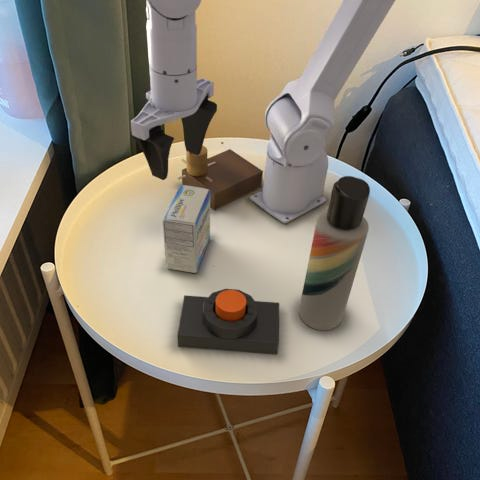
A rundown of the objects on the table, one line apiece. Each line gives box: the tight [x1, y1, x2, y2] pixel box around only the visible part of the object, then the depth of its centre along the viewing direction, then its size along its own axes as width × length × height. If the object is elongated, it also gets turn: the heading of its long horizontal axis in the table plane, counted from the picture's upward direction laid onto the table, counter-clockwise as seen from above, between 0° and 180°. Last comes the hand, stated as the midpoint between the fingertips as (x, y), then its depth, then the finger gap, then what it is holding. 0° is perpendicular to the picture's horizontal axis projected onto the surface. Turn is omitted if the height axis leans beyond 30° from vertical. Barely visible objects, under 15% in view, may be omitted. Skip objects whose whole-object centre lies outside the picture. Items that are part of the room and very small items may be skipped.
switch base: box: [176, 288, 280, 355], centre depth 67 cm, size 12×7×4 cm, turn 87°
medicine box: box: [162, 184, 211, 274], centre depth 74 cm, size 8×4×9 cm, turn 168°
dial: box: [185, 145, 208, 176], centre depth 84 cm, size 3×3×4 cm
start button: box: [215, 290, 246, 322], centre depth 65 cm, size 4×4×2 cm
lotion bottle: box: [298, 175, 371, 331], centre depth 63 cm, size 6×6×20 cm
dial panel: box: [177, 148, 264, 211], centre depth 87 cm, size 12×10×3 cm
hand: (176, 163), depth 76 cm, fingers open, 7 cm apart
